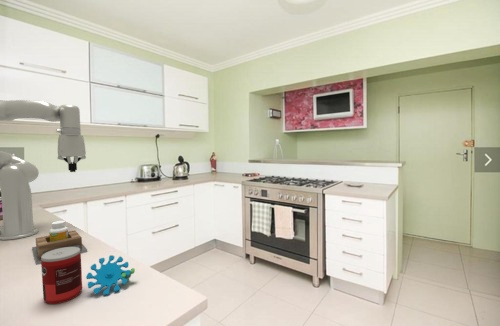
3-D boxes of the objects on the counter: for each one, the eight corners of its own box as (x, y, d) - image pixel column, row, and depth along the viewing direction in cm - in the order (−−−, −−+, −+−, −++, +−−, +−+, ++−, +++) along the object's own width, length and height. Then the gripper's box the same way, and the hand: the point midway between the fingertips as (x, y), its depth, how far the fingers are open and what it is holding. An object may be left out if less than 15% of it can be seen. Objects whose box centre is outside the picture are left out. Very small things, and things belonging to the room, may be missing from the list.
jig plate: (32, 249, 92) (31, 242, 92) (77, 239, 102) (76, 232, 101) (36, 264, 79) (35, 256, 79) (87, 251, 89) (86, 244, 89)
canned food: (57, 287, 65) (55, 247, 65) (89, 286, 66) (87, 245, 65) (34, 306, 57) (31, 260, 57) (70, 303, 58) (68, 258, 58)
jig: (36, 248, 90) (35, 238, 90) (75, 240, 99) (75, 230, 99) (39, 258, 82) (38, 246, 82) (82, 248, 90) (81, 237, 90)
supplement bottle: (48, 252, 87) (46, 225, 86) (52, 247, 92) (51, 221, 91) (67, 249, 89) (65, 222, 89) (70, 244, 94) (68, 219, 94)
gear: (81, 295, 58) (90, 255, 65) (83, 303, 62) (91, 264, 69) (133, 290, 63) (136, 253, 70) (131, 298, 67) (134, 261, 73)
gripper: (51, 131, 106) (53, 173, 107) (91, 132, 116) (93, 171, 117) (49, 132, 111) (51, 172, 112) (87, 133, 122) (89, 170, 123)
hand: (72, 171), depth 115 cm, fingers closed
